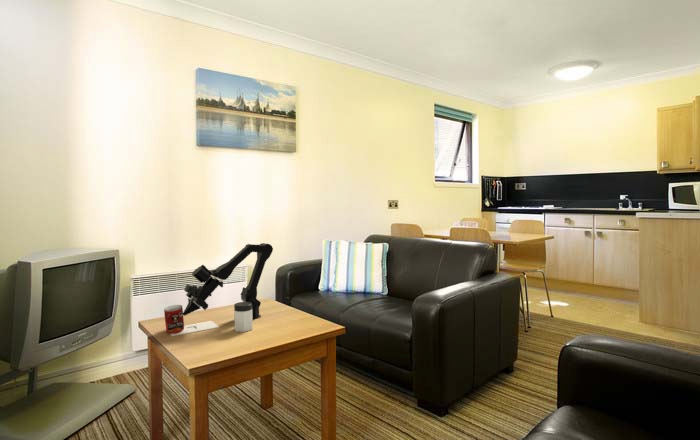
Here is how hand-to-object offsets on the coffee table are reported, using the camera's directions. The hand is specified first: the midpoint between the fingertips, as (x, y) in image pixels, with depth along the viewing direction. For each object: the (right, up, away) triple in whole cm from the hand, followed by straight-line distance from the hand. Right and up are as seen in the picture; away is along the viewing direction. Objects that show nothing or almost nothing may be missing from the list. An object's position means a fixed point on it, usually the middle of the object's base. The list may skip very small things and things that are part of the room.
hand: (183, 314), depth 179 cm
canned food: (-3, -7, -2) cm, 8 cm away
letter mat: (+3, -7, +2) cm, 8 cm away
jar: (+28, -7, +2) cm, 29 cm away
